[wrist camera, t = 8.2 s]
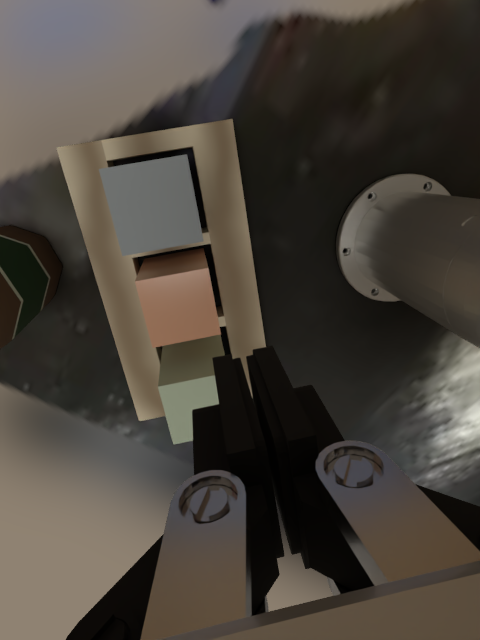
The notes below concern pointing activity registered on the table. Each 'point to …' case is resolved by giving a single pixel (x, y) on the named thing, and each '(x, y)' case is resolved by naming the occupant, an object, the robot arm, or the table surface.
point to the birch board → (121, 271)
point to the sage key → (188, 382)
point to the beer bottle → (24, 279)
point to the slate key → (152, 204)
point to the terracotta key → (177, 298)
